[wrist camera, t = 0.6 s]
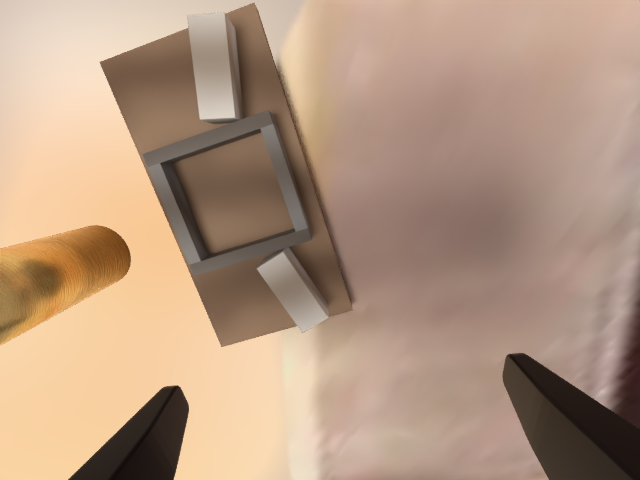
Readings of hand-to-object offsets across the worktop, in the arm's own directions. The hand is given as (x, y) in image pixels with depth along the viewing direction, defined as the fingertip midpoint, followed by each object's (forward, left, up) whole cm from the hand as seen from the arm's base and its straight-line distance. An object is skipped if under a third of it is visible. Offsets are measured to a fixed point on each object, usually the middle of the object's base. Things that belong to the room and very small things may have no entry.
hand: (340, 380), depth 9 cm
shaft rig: (+3, +7, -14) cm, 16 cm away
